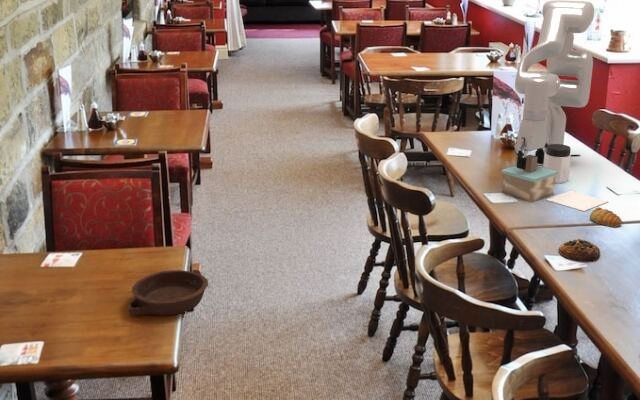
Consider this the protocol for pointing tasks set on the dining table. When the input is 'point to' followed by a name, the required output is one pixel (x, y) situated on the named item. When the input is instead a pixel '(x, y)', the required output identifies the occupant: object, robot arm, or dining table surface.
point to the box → (528, 188)
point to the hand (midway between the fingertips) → (530, 165)
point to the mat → (577, 201)
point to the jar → (558, 161)
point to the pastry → (605, 217)
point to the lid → (530, 170)
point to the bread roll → (579, 250)
